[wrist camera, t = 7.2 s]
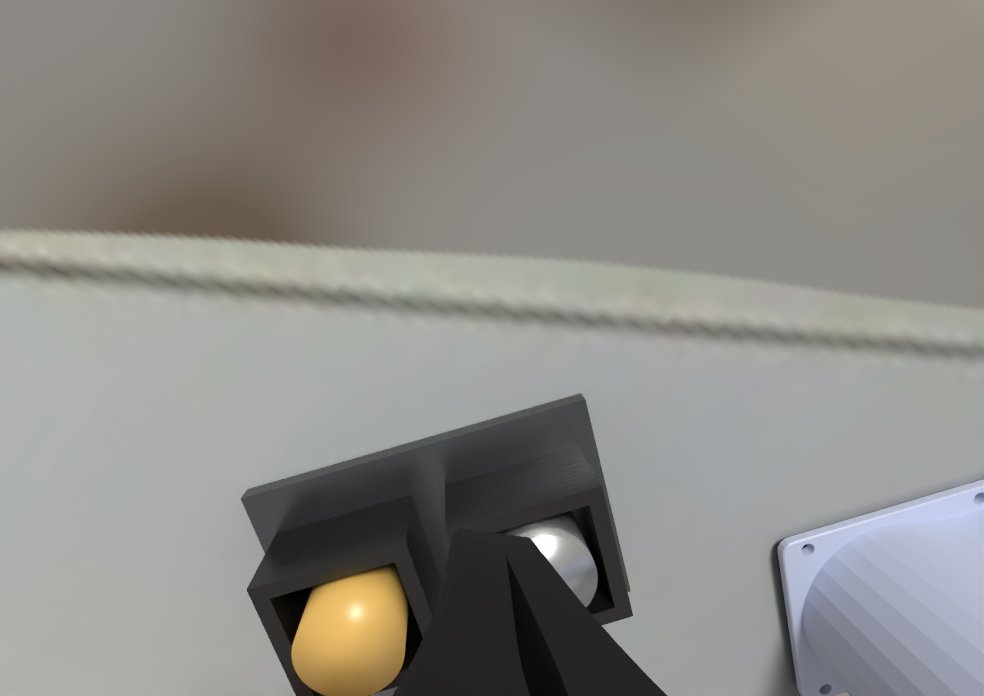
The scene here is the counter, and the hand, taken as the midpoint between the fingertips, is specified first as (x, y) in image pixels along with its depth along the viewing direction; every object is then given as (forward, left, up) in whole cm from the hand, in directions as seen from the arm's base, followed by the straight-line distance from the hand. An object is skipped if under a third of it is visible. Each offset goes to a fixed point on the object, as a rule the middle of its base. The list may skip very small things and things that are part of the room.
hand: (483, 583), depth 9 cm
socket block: (+2, +5, -9) cm, 11 cm away
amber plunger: (+5, +5, -8) cm, 11 cm away
